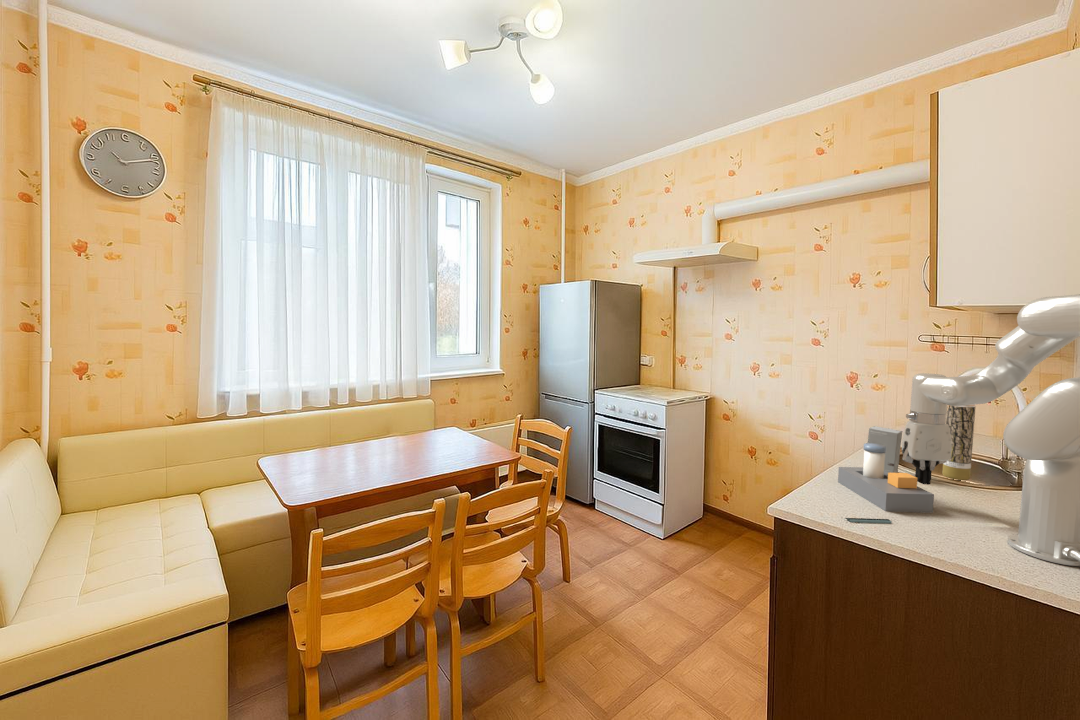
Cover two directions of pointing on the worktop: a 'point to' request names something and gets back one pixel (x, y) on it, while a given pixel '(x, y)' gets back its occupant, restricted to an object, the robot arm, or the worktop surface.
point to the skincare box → (887, 445)
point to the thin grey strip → (869, 520)
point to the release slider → (902, 480)
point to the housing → (886, 492)
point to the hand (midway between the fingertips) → (922, 482)
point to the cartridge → (874, 460)
